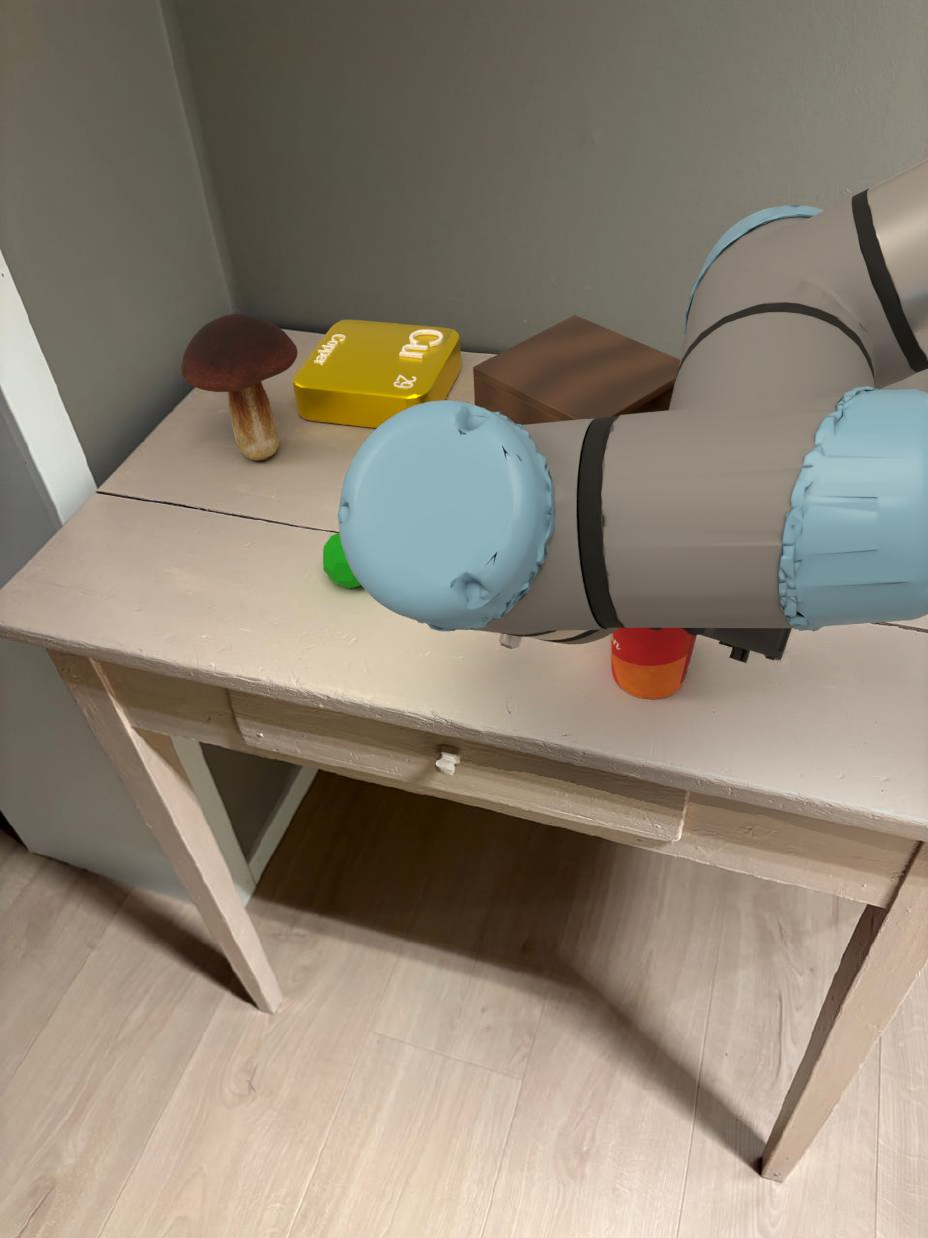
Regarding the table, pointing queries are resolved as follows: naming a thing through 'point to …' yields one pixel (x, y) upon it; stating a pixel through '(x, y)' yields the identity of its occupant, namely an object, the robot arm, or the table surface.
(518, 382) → the cabinet
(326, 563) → the polyhedron
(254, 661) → the table surface
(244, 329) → the decorative mushroom
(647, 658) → the paper cup
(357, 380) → the element tile
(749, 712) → the table surface
